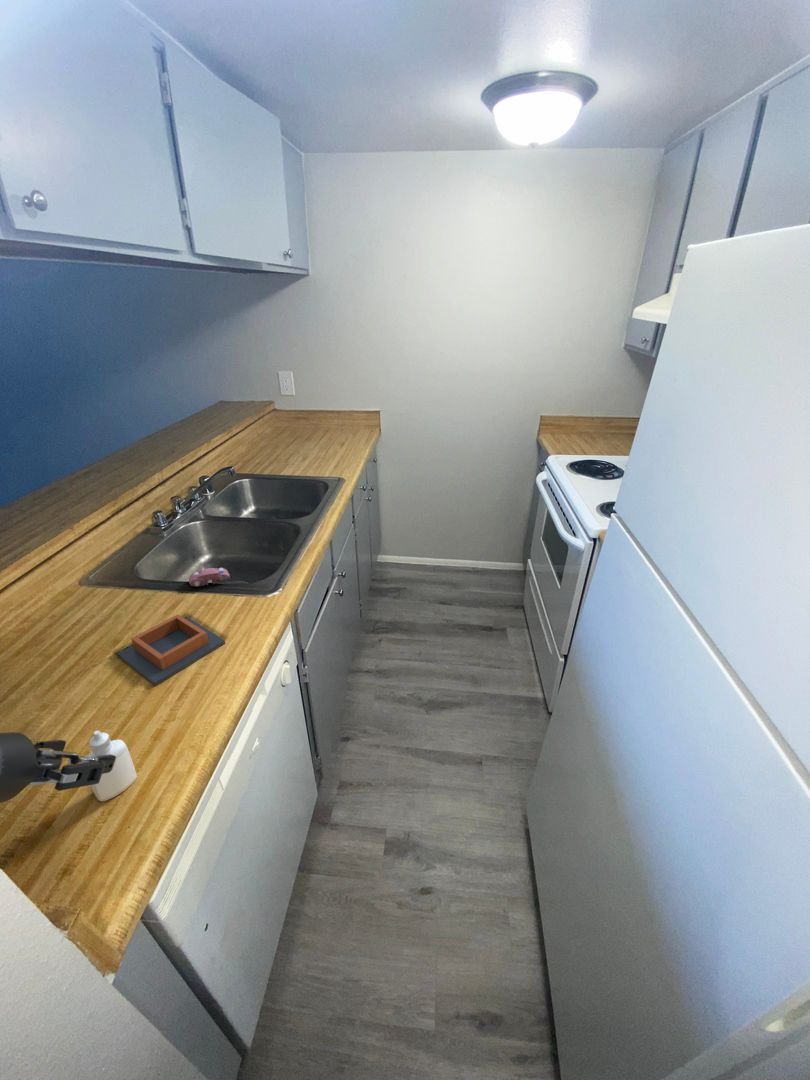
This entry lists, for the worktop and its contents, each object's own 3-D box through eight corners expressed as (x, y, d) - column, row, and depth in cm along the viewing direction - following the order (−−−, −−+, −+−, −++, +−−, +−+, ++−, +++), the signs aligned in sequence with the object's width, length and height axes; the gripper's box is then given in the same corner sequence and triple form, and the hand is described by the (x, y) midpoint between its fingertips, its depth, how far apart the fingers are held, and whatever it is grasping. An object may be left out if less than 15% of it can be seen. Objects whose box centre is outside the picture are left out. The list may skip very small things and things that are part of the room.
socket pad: (155, 686, 91) (151, 670, 89) (117, 656, 98) (112, 641, 96) (225, 643, 103) (222, 628, 101) (187, 619, 110) (184, 605, 108)
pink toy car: (191, 596, 121) (187, 581, 116) (189, 581, 123) (185, 566, 118) (231, 588, 125) (230, 574, 119) (229, 574, 127) (227, 559, 122)
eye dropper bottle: (136, 792, 72) (117, 738, 67) (93, 805, 70) (70, 750, 65) (138, 768, 76) (120, 715, 70) (98, 780, 74) (76, 726, 68)
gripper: (36, 750, 51) (139, 739, 66) (-65, 720, 54) (56, 716, 69) (5, 828, 48) (118, 797, 64) (-98, 792, 51) (34, 771, 67)
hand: (86, 755), depth 66 cm, fingers open, 8 cm apart
